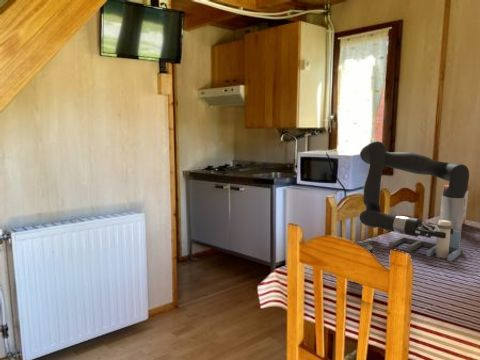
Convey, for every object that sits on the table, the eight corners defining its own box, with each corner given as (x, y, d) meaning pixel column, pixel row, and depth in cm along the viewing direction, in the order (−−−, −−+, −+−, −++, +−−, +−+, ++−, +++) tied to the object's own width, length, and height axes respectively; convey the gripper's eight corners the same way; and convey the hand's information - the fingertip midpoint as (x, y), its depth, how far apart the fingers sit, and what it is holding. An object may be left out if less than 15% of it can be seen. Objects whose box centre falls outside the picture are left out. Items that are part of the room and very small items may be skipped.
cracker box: (449, 227, 197) (452, 186, 194) (438, 224, 202) (441, 185, 199) (466, 224, 203) (469, 185, 200) (455, 221, 209) (458, 183, 206)
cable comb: (400, 240, 173) (402, 220, 172) (463, 253, 156) (465, 232, 154) (387, 246, 164) (388, 225, 163) (452, 261, 146) (454, 238, 145)
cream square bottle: (432, 254, 155) (435, 220, 153) (443, 253, 155) (446, 219, 154) (440, 258, 150) (443, 223, 148) (451, 257, 151) (454, 222, 149)
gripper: (400, 219, 156) (443, 227, 145) (414, 214, 166) (456, 221, 154) (399, 237, 157) (442, 246, 146) (413, 231, 167) (454, 239, 155)
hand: (449, 233), depth 150 cm, fingers open, 8 cm apart
